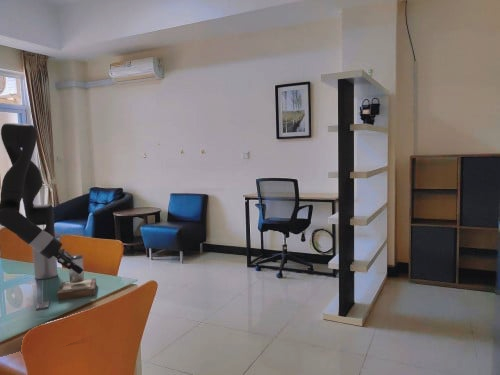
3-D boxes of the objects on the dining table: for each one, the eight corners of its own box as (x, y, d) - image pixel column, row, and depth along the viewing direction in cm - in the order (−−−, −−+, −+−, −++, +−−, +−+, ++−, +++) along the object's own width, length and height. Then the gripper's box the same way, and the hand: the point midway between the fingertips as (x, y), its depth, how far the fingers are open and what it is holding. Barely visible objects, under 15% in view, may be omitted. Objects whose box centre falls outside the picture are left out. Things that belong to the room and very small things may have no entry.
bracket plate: (37, 305, 141) (37, 302, 141) (49, 303, 143) (49, 300, 143) (35, 311, 136) (35, 308, 135) (48, 309, 137) (48, 306, 137)
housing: (70, 279, 153) (69, 255, 152) (84, 278, 155) (83, 254, 154) (69, 283, 148) (67, 258, 147) (83, 282, 150) (82, 257, 149)
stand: (62, 289, 156) (61, 281, 156) (96, 285, 160) (95, 277, 160) (57, 300, 144) (57, 292, 144) (94, 295, 148) (94, 287, 148)
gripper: (51, 240, 140) (88, 267, 146) (54, 233, 153) (87, 258, 159) (36, 256, 139) (74, 283, 145) (40, 247, 152) (74, 272, 158)
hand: (81, 269), depth 152 cm, fingers closed on housing, 5 cm apart
